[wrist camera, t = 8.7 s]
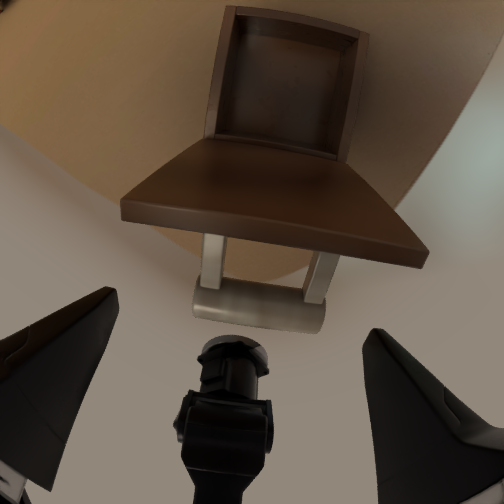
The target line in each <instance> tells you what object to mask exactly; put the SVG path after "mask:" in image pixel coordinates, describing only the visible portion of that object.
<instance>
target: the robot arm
mask: <svg viewBox="0 0 504 504" xmlns="http://www.w3.org/2000/svg"><path fill="white" fill-rule="evenodd" d="M118 313H119V303H118V296H117V291H116V289H115V288H111V287H106V286H105V287H103V288H101V289H99V290H97V291H95V292H93V293H91V294H89V295H87V296H85V297H83V298H81V299H79V300H77V301H75V302H73V303H71V304H69V305H67V306H65V307H64V308H61V309H60V310H58V311H56V312H54V313H52V314H50V315H48V316H47V317H44V318H43V319H41V320H39V321H37V322H35V323H33V324H31V325H30V327H29V326H27V327H26V328H24V329H22V330H20V331H18V332H16V333H14V334H12V335H10V336H9V337H6V338H5V339H2V340H0V504H31V502H30V500H29V497H28V495H27V493H26V490H25V488H24V487H25V484H26V482H27V479H29V480H31V481H32V482H34V483H35V484H37V485H39V486H40V487H42V488H44V489H46V490H48V491H49V492H51V490H52V487H53V484H54V480H55V477H56V474H57V470H58V467H59V464H60V461H61V458H62V455H63V452H64V449H65V446H66V443H67V440H68V437H69V435H70V432H71V429H72V427H73V424H74V421H75V419H76V416H77V414H78V411H79V409H80V406H81V404H82V401H83V399H84V396H85V394H86V392H87V389H88V387H89V385H90V382H91V380H92V378H93V375H94V373H95V371H96V369H97V367H98V364H99V362H100V360H101V358H102V356H103V354H104V351H105V349H106V346H107V344H108V341H109V338H110V335H111V332H112V329H113V327H114V324H115V321H116V319H117V316H118ZM362 354H363V365H364V380H365V389H366V395H367V402H368V408H369V415H370V422H371V429H372V437H373V445H374V454H375V464H376V475H377V485H378V486H377V488H378V489H377V490H378V504H504V428H497V427H493V426H492V425H490V424H488V423H487V422H486V421H484V420H483V419H482V418H481V417H480V416H478V415H477V414H476V413H475V412H474V411H472V410H471V409H470V408H468V407H467V406H466V405H465V404H464V403H463V402H461V401H460V400H459V399H458V398H457V397H456V396H455V395H454V394H453V393H452V392H451V391H450V390H449V389H447V388H446V387H444V385H443V384H442V383H441V382H440V381H439V380H438V379H437V378H436V377H435V376H434V375H433V374H432V373H431V372H429V371H428V370H427V369H426V368H425V367H424V366H423V365H422V364H421V363H420V362H419V361H418V360H417V359H415V358H414V357H413V356H412V355H411V354H410V353H409V352H408V351H407V350H406V349H405V348H403V347H402V346H401V345H400V344H399V343H398V342H397V341H396V340H395V339H393V338H392V337H391V336H390V335H389V334H388V333H387V332H386V331H384V330H383V329H378V328H373V329H372V330H371V331H370V333H369V335H368V337H367V339H366V340H365V342H364V344H363V348H362ZM197 361H198V362H199V363H200V364H201V365H202V366H203V368H202V373H201V378H200V381H201V387H200V392H196V391H194V390H189V391H188V394H187V395H186V396H185V397H184V398H183V401H182V405H181V409H180V411H179V413H178V415H177V417H176V419H175V420H174V423H173V427H174V428H175V429H176V431H177V438H178V442H180V443H182V450H181V458H182V460H183V462H184V465H185V467H186V469H187V471H188V473H189V475H190V477H191V479H192V481H193V483H194V485H195V493H194V500H193V504H242V495H243V492H244V490H245V489H246V488H247V487H248V486H249V485H250V483H251V482H252V481H253V479H255V477H256V476H257V475H258V474H259V473H260V471H261V470H262V468H263V467H264V462H265V453H268V454H269V453H270V451H271V448H272V444H273V436H274V424H273V414H272V404H271V400H257V394H258V378H259V377H261V376H265V375H267V374H269V369H268V368H267V367H266V365H265V364H264V363H263V362H262V361H261V360H260V359H259V358H258V357H257V356H256V355H255V354H254V353H253V352H252V351H251V350H250V349H249V347H248V346H247V345H246V344H245V343H244V342H243V341H236V342H233V343H231V344H228V345H226V346H223V347H221V348H218V349H215V350H213V351H210V352H207V353H204V354H202V355H199V356H198V357H197Z"/></svg>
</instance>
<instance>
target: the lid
mask: <svg viewBox="0 0 504 504" xmlns="http://www.w3.org/2000/svg"><path fill="white" fill-rule="evenodd" d="M120 208H121V220H122V221H127V222H133V223H140V224H147V225H154V226H160V227H167V228H174V229H180V230H187V231H194V232H200V233H203V241H202V256H201V272H200V275H199V276H198V278H197V281H196V285H195V289H194V295H193V303H192V313H193V316H194V317H195V318H201V319H207V320H212V321H219V322H225V323H231V324H237V325H244V326H251V327H258V328H265V329H273V330H281V331H289V332H298V333H308V334H317V333H318V332H319V331H320V329H321V327H322V325H323V322H324V318H325V311H326V300H325V295H326V293H327V290H328V287H329V285H330V282H331V279H332V277H333V274H334V272H335V269H336V266H337V263H338V261H339V257H340V255H343V256H348V257H355V258H360V259H366V260H372V261H377V262H383V263H389V264H395V265H401V266H406V267H412V268H418V269H422V268H423V265H424V263H425V261H426V259H427V257H428V255H429V250H428V249H427V247H426V246H425V245H424V244H423V243H422V241H421V240H420V239H419V238H418V237H417V235H416V234H415V233H414V232H413V231H412V230H411V229H410V227H409V226H408V225H407V224H406V223H405V222H404V221H403V220H402V219H401V218H400V216H399V215H398V214H397V213H396V212H395V211H394V210H393V209H392V208H391V207H390V206H389V204H388V203H387V202H386V201H385V200H384V199H383V198H382V197H381V196H380V195H379V194H378V193H377V192H376V191H375V190H374V189H373V188H372V187H371V186H370V185H369V184H368V183H367V182H366V181H365V180H364V179H363V178H362V177H361V176H360V175H359V174H358V173H356V172H355V171H354V170H353V169H352V168H351V167H350V166H349V165H348V164H345V163H341V162H337V161H333V160H328V159H324V158H319V157H315V156H310V155H305V154H301V153H296V152H290V151H285V150H280V149H274V148H268V147H262V146H256V145H250V144H243V143H236V142H228V141H220V140H212V139H201V140H199V141H198V142H196V143H195V144H193V145H192V146H190V147H189V148H187V149H186V150H184V151H183V152H182V153H180V154H179V155H177V156H176V157H175V158H173V159H172V160H170V161H169V162H168V163H166V164H165V165H163V166H162V167H161V168H159V169H158V170H157V171H155V172H154V173H153V174H151V175H150V176H149V177H147V178H146V179H145V180H144V181H142V182H141V183H140V184H138V185H137V186H136V187H135V188H133V189H132V190H131V191H130V192H129V193H127V194H126V195H125V196H124V197H122V198H121V200H120ZM228 237H232V238H239V239H245V240H251V241H257V242H264V243H270V244H276V245H282V246H288V247H294V248H301V249H307V250H313V251H314V252H313V256H312V259H311V262H310V265H309V269H308V272H307V275H306V278H305V281H304V284H303V287H302V289H301V288H293V287H287V286H280V285H273V284H266V283H260V282H253V281H247V280H240V279H234V278H227V277H223V271H224V263H225V254H226V246H227V238H228Z"/></svg>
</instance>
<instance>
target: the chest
mask: <svg viewBox="0 0 504 504" xmlns="http://www.w3.org/2000/svg"><path fill="white" fill-rule="evenodd" d="M368 42H369V34H368V33H365V32H363V31H359V30H357V29H354V28H351V27H347V26H344V25H341V24H337V23H333V22H330V21H326V20H322V19H318V18H313V17H309V16H304V15H299V14H294V13H289V12H283V11H276V10H270V9H262V8H253V7H242V6H226V8H225V12H224V17H223V22H222V27H221V31H220V37H219V42H218V47H217V52H216V58H215V64H214V69H213V75H212V81H211V88H210V94H209V101H208V108H207V115H206V122H205V129H204V137H203V139H212V140H220V141H228V142H236V143H243V144H250V145H256V146H262V147H268V148H274V149H280V150H285V151H290V152H296V153H301V154H305V155H310V156H315V157H319V158H324V159H328V160H333V161H337V162H341V163H345V164H346V161H347V156H348V152H349V148H350V143H351V138H352V134H353V129H354V124H355V119H356V114H357V109H358V104H359V98H360V93H361V87H362V81H363V75H364V69H365V63H366V56H367V49H368Z"/></svg>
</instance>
